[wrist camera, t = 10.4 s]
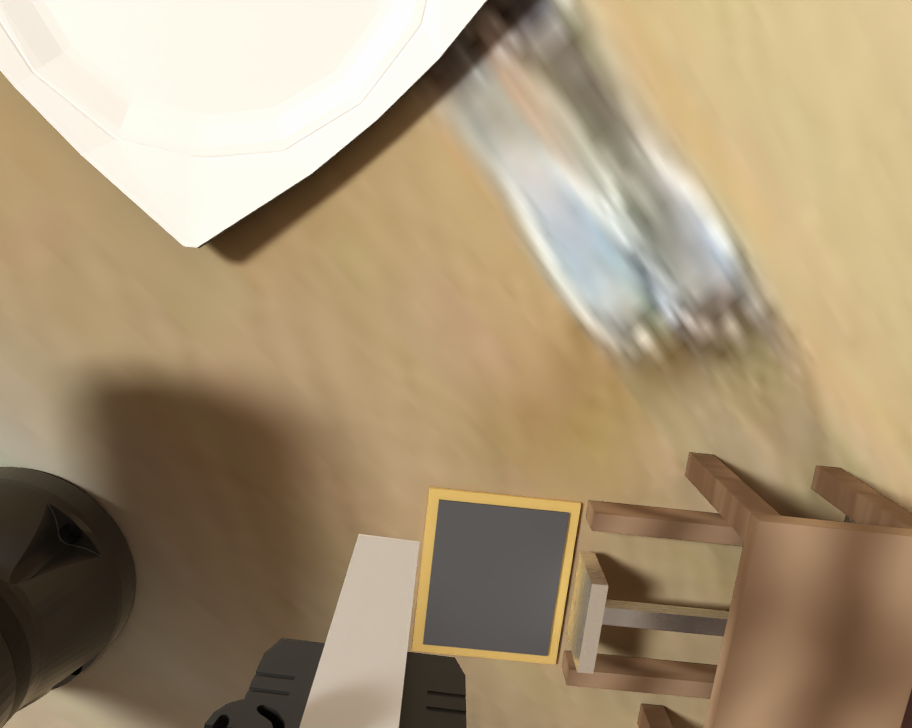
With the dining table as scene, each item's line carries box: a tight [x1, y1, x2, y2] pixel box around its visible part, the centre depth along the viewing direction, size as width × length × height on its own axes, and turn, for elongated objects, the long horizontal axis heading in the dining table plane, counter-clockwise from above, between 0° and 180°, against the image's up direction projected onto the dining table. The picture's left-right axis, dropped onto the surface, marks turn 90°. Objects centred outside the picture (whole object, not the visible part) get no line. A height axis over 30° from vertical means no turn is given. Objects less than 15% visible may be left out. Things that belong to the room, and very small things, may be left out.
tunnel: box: [562, 452, 912, 728], centre depth 41 cm, size 22×20×10 cm
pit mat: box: [412, 487, 581, 665], centre depth 45 cm, size 10×12×1 cm
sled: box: [567, 515, 858, 674], centre depth 43 cm, size 29×16×5 cm, turn 84°
